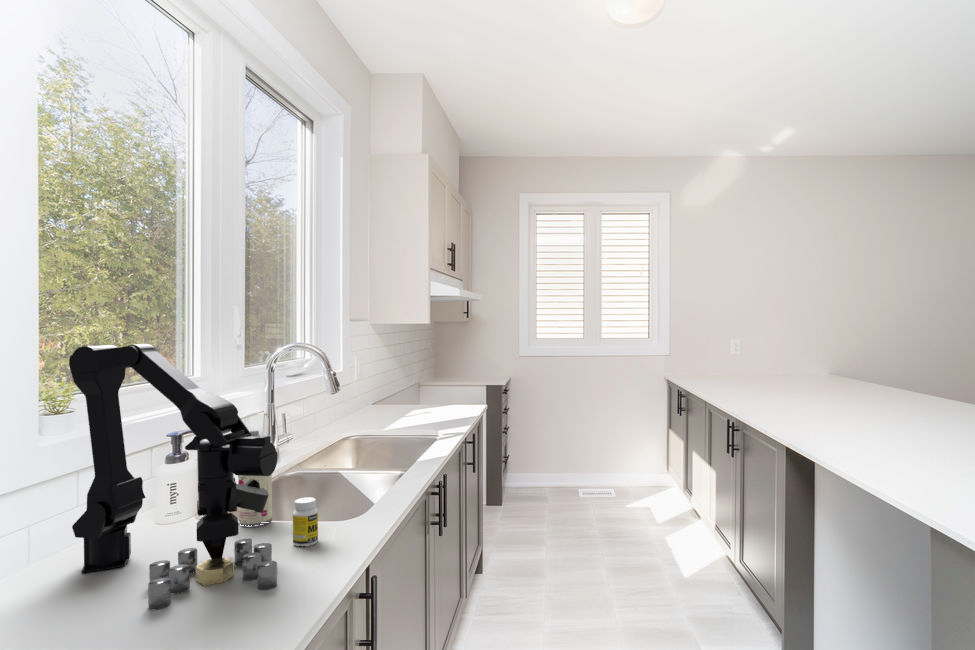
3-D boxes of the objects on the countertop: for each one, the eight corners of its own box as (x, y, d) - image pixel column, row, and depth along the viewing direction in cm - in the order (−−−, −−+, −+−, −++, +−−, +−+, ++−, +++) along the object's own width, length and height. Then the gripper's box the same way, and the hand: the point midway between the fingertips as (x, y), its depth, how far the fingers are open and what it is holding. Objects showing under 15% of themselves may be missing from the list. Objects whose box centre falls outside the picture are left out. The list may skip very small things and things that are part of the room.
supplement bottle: (310, 548, 112) (310, 504, 112) (288, 546, 113) (287, 503, 113) (322, 539, 117) (321, 497, 117) (300, 537, 118) (300, 496, 118)
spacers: (143, 613, 87) (143, 590, 87) (152, 573, 101) (152, 553, 101) (278, 587, 95) (277, 565, 95) (269, 553, 110) (268, 534, 110)
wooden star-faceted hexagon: (208, 588, 95) (207, 573, 95) (192, 578, 99) (192, 564, 99) (237, 577, 99) (237, 563, 99) (221, 569, 103) (221, 555, 103)
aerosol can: (232, 523, 127) (231, 431, 127) (260, 514, 132) (259, 426, 133) (250, 529, 123) (248, 434, 123) (278, 520, 128) (277, 429, 128)
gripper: (270, 480, 98) (271, 574, 98) (260, 458, 114) (261, 538, 114) (195, 490, 93) (197, 588, 93) (196, 465, 109) (198, 548, 109)
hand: (217, 563), depth 102 cm, fingers closed
